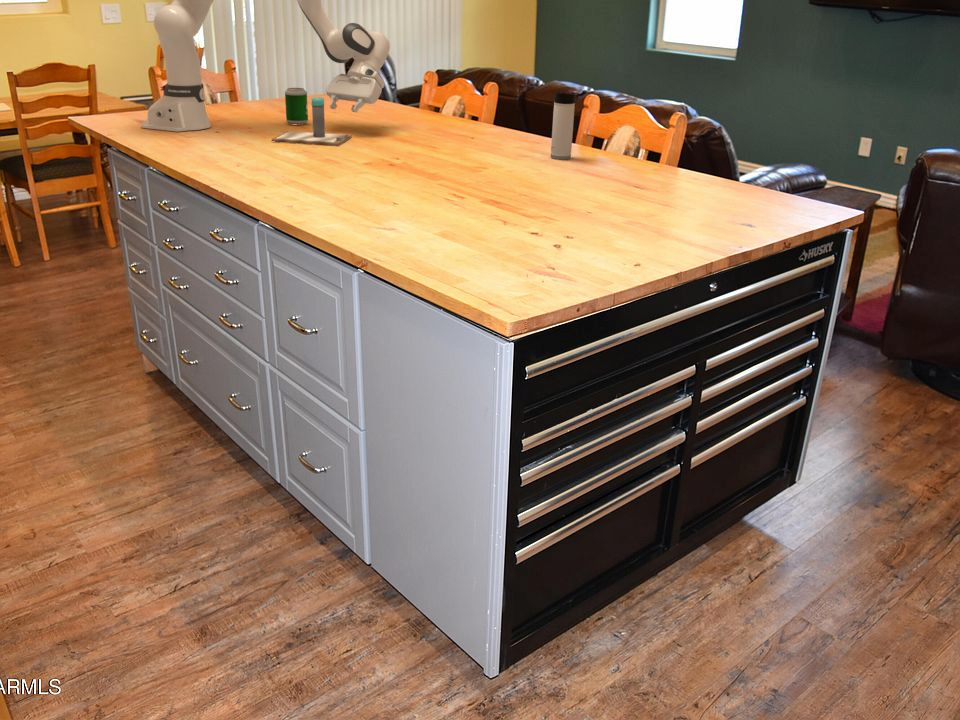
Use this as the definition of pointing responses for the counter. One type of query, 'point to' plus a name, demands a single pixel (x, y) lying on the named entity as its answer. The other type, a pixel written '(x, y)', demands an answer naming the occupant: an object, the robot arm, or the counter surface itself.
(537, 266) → the counter surface
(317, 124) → the marker
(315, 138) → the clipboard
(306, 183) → the counter surface
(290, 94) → the soda can
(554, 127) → the travel mug
